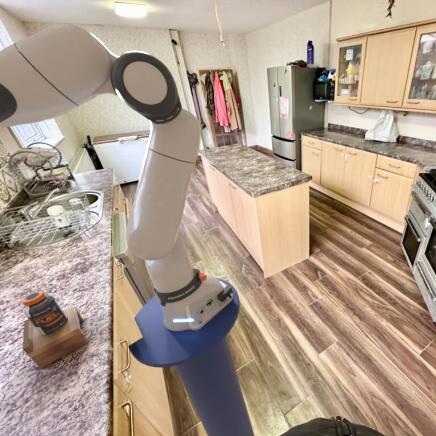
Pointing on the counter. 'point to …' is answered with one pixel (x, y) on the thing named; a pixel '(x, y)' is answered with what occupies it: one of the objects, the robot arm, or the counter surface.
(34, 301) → the pill bottle
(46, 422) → the counter surface
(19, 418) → the counter surface
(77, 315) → the tan scooped block
